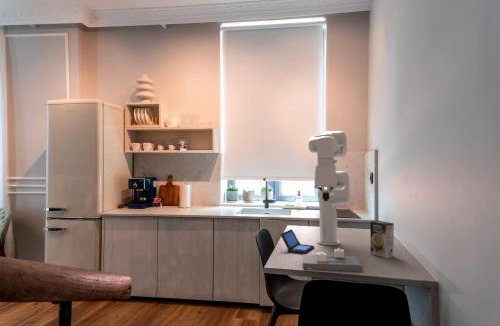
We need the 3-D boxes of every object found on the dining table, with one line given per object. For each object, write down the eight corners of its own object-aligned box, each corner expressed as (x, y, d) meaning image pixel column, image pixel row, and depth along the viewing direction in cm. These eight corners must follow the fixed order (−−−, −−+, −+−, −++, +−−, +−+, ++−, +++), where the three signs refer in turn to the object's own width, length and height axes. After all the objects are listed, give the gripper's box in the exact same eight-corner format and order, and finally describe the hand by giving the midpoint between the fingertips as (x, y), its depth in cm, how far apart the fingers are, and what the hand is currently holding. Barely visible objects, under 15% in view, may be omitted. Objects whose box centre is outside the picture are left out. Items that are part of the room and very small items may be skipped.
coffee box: (369, 253, 165) (369, 221, 165) (378, 252, 168) (378, 220, 168) (385, 258, 157) (385, 224, 157) (394, 256, 160) (394, 222, 160)
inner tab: (334, 255, 152) (334, 247, 152) (343, 256, 151) (343, 248, 151) (334, 257, 149) (334, 249, 149) (344, 257, 148) (344, 249, 148)
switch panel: (303, 259, 156) (303, 254, 156) (356, 261, 152) (356, 255, 152) (303, 268, 142) (302, 262, 142) (361, 271, 138) (361, 265, 138)
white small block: (316, 259, 146) (316, 251, 146) (326, 259, 146) (325, 251, 146) (316, 261, 143) (316, 252, 143) (326, 261, 143) (326, 253, 143)
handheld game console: (304, 255, 164) (304, 236, 165) (280, 252, 171) (279, 233, 171) (314, 248, 178) (314, 230, 178) (291, 245, 185) (291, 228, 185)
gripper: (340, 162, 162) (341, 200, 162) (309, 162, 164) (309, 199, 164) (342, 162, 154) (342, 201, 154) (309, 162, 157) (310, 201, 157)
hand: (325, 200), depth 159 cm, fingers closed
